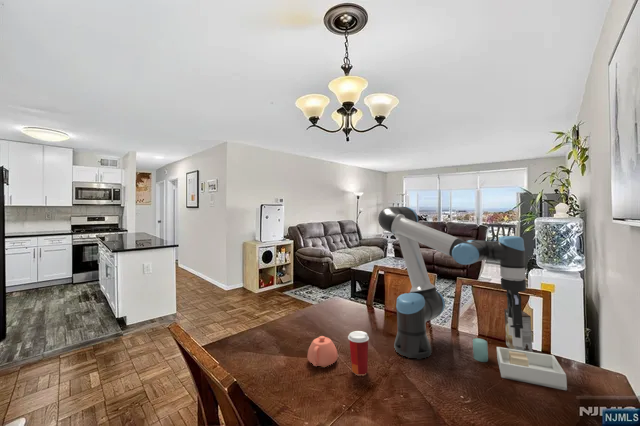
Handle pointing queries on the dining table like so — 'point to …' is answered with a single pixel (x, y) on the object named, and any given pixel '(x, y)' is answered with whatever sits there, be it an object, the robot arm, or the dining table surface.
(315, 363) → the sugar bowl
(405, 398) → the dining table surface
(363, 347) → the paper cup
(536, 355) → the tray
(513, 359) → the beech cube
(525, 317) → the coffee box
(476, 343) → the teal cylinder
